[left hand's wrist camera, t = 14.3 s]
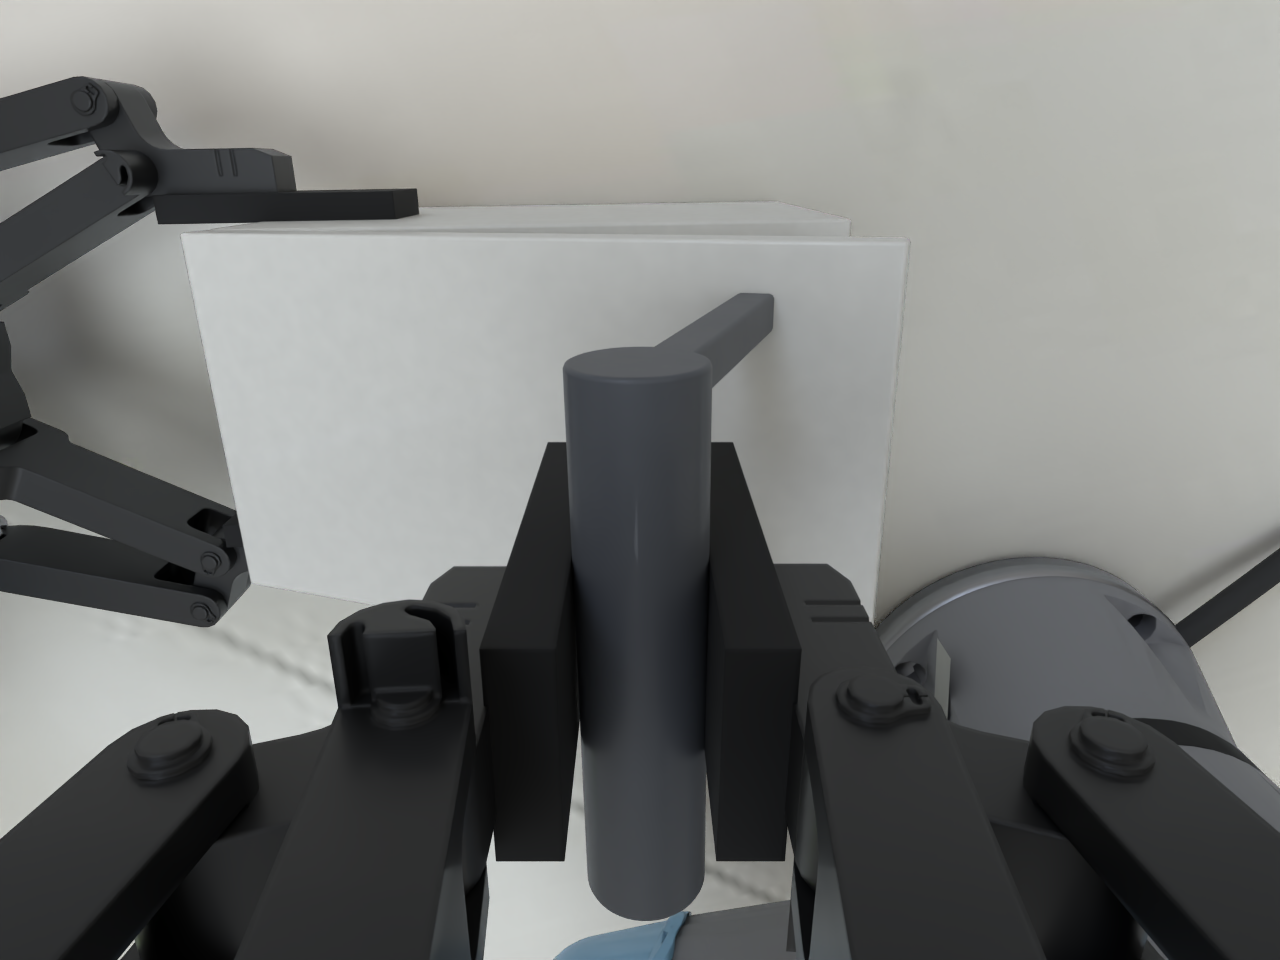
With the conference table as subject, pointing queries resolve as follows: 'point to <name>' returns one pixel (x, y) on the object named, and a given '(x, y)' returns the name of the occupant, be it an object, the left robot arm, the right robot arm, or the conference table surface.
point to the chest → (597, 220)
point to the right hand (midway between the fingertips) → (424, 370)
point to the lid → (595, 440)
